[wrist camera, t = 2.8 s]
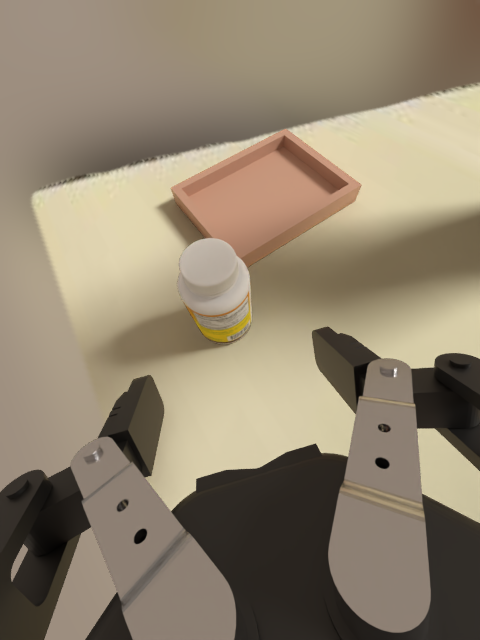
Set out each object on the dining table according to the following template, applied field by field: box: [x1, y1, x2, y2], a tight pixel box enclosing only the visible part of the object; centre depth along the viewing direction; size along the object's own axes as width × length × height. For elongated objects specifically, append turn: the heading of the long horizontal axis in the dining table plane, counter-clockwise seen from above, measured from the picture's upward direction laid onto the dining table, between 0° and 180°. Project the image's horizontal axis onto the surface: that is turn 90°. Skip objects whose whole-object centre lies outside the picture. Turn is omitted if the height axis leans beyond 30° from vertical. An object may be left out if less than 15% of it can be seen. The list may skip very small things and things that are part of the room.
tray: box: [171, 129, 361, 267], centre depth 32 cm, size 18×14×2 cm
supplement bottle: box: [177, 238, 252, 344], centre depth 22 cm, size 6×6×10 cm
